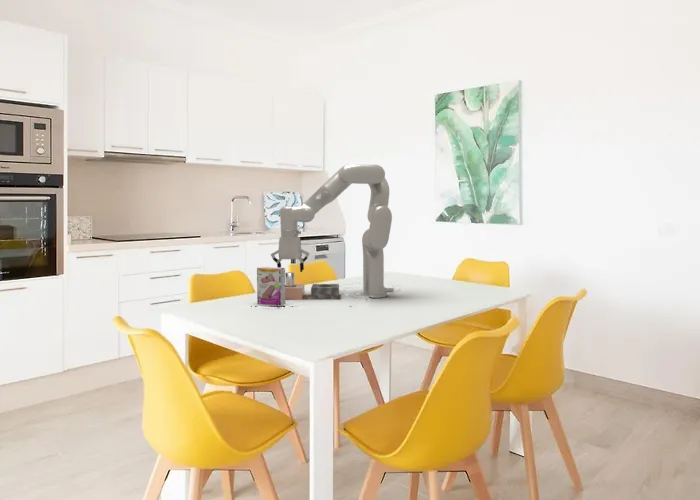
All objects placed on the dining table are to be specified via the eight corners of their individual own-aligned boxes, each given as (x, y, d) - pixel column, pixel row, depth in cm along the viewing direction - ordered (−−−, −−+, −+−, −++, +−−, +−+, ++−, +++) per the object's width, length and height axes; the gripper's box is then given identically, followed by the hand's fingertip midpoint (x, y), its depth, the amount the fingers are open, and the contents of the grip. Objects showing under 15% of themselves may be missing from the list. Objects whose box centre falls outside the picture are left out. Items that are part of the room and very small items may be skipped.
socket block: (304, 294, 256) (304, 284, 255) (302, 299, 244) (301, 288, 243) (278, 294, 256) (278, 284, 255) (274, 299, 244) (274, 288, 244)
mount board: (341, 296, 257) (341, 283, 256) (340, 301, 243) (340, 288, 242) (276, 296, 257) (276, 283, 256) (272, 302, 243) (272, 288, 243)
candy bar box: (256, 306, 233) (256, 267, 232) (262, 304, 238) (261, 266, 237) (280, 307, 230) (280, 268, 228) (286, 305, 234) (285, 267, 233)
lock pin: (295, 296, 252) (294, 272, 251) (294, 297, 248) (293, 273, 247) (286, 296, 252) (285, 272, 251) (285, 297, 248) (284, 273, 247)
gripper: (309, 233, 251) (310, 270, 253) (271, 234, 251) (272, 271, 253) (307, 234, 244) (309, 272, 245) (268, 235, 244) (270, 273, 245)
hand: (290, 271), depth 249 cm, fingers open, 9 cm apart
